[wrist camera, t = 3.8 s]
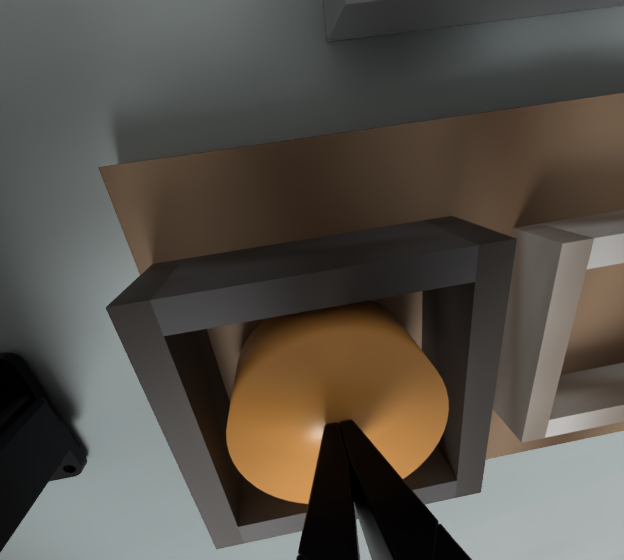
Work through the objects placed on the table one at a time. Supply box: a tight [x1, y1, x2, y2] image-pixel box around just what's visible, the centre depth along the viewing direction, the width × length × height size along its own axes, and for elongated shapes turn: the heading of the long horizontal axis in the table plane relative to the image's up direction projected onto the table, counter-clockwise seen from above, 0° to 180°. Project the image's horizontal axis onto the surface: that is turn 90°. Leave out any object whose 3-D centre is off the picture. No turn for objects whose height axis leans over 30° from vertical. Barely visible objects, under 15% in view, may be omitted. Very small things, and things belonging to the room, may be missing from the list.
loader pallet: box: [98, 93, 624, 549], centre depth 12 cm, size 24×16×4 cm, turn 97°
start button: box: [226, 300, 449, 504], centre depth 10 cm, size 7×7×2 cm
